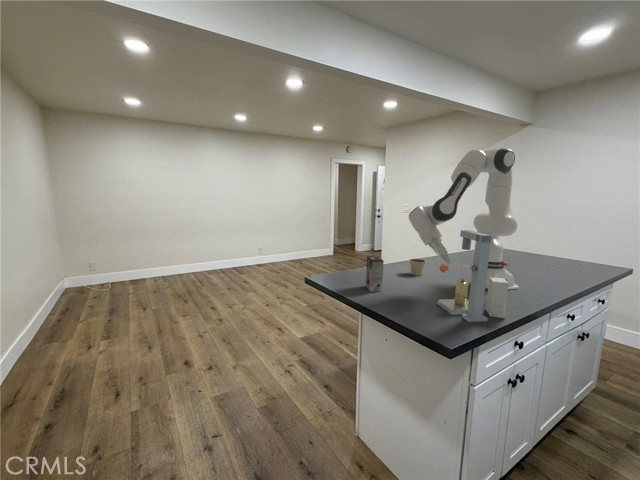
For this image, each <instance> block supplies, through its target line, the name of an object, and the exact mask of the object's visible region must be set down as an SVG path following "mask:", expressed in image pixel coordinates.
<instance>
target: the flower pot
mask: <svg viewBox="0 0 640 480" xmlns="http://www.w3.org/2000/svg"><path fill="white" fill-rule="evenodd" d="M426 262H427V261H426V260H425V259H421V258H410V259H409V264H410V274H411V275H412V276H416V277H417V276H422V275H423V271H424V267H425V264H426Z"/></svg>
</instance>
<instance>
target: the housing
mask: <svg viewBox="0 0 640 480" xmlns="http://www.w3.org/2000/svg"><path fill="white" fill-rule="evenodd" d="M468 290H469V281H466V280H465V278H461V279H460V280H456V284H455V294H454V299H455V302H454V304H455V305H457V306H462V307H463V306H466V301H467V299H468V293H469V292H468Z"/></svg>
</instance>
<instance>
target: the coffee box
mask: <svg viewBox="0 0 640 480" xmlns="http://www.w3.org/2000/svg"><path fill="white" fill-rule="evenodd" d="M365 272H366V273H365V287H366V288H367V289H368V291H369V292H382V290H383V276H384V259H382V258H381V257H380V256H379V255H378V256H374V255H367V256H366V271H365Z"/></svg>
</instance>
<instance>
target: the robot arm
mask: <svg viewBox="0 0 640 480" xmlns="http://www.w3.org/2000/svg"><path fill="white" fill-rule="evenodd" d="M515 161H516V155H515V152H514V151H513V150H512V149H510V148H505V147H502V148H491V149H487V150H480V149H478V148H477V149H476V148H474V149H471V150H469V151H468V152H467V153H466V154H465V155H463V157H462V158H461V159H460V161H459V162H457V165H456V166H455V168H454V170H453V172H452V174H451V177H450V179H451V182H452V184H451V185H450V187H449V189H448V191H447V192H446V193H445V195H444V196H443V197H441V198H439V199H438V200H437V201H435V203H434V204H433V205H432V204H431V205H426V206H424V205H422V206H421V205H418V206H416V207H415V208H414V209H413V210H412V211H410V212H409V215H408V220H409V222H410V224H411V226H412V227H413V229H414V231H416V232H417V233H418V237H420V239H421V241H422V243H423V244H424V246H428V247H429V248H431V250H433V252H434V253H435V254H436V255H437V256H438V257H440V258H441V259H442V260H443V261H444V264H446V265H451V264H452V261H451V259H450V257H449V256H448V255H449V254H448V250H447V248H446V247H445V246H444V244H443V243H442V241H443V240H442V239H441V238H442V237H443V234H442V233H441V232H440V230H439V229H438V227H437V226H439V225H443V224H444V223H446V222H448V221H451V220H452V219H453V218H454V217H455V216H456V214H457V212H458V204H459V202H460V200H461V199H462V197H463V195H464V193H465V191H467V189H468V188H470V187H471V186H472V185H473V184H474V183H475V181H477V178H478V177H479V176H480V174H481V173H485V174H486V173H488V180H487V183H486V189H485V190H486V191H485V199H484V200H485V201H484V202H485V204H486V205H487V206H488V212H482V213H479V214H477V215H476V216H475V217H474V219H473V227H474V228H475V230H476V232H478V233H482V234H487V235H491V243H490V251H489V259H488V268H487V276H486V284H485V289H487V290H488V284H489V277H494V278H504V279H505V280H506V281H507V282H508V283H509V284H508V291H509V290H519V289H520V287H519V285H518V284H516V283H515V277H514V275H513V274H511V273H510V271H508V270H507V269H506V268H505V267H508V266H510V264H509V262H506V261H503V253H504V246H503V243H501V241H500V237H510V236H511V235H514V234H515V232H517V229H518V222H517V220H516V219H515V217H514V215H513V212H512V209H511V197H512V195H511V194H512V188H513V187H512V186H513V170H512V168H513V167H514V164H515Z"/></svg>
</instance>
